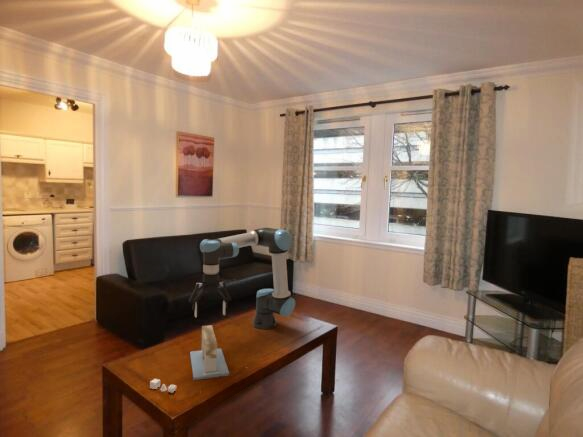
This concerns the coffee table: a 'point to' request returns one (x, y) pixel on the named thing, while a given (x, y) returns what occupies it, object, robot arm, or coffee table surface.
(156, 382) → the game pieces
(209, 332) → the maple beam
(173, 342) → the coffee table surface
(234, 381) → the coffee table surface
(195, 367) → the blueprint board
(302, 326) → the coffee table surface
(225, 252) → the robot arm
